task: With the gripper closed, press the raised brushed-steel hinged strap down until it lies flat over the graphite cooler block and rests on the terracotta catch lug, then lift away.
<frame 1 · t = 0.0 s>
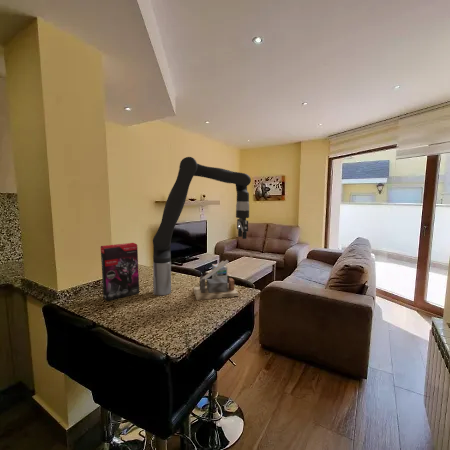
hand: (242, 237, 144), 29 cm above the counter, fingers open, 8 cm apart
light bulb box: (219, 282, 155), on the counter
strap: (214, 270, 135), point 13 cm above the counter, hinge at 35.0°
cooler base: (215, 293, 136), on the counter
graphics card box: (121, 296, 131), on the counter
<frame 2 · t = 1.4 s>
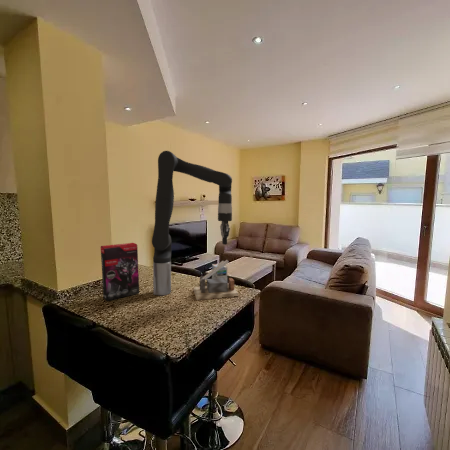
hand: (224, 244, 135), 27 cm above the counter, fingers closed
nothing on the counter moved.
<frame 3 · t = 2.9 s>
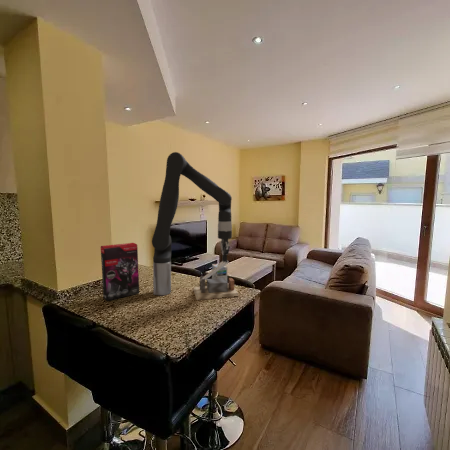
hand: (224, 261, 136), 18 cm above the counter, fingers closed
strap: (214, 270, 135), point 13 cm above the counter, hinge at 34.4°, touching gripper
everything else where it was.
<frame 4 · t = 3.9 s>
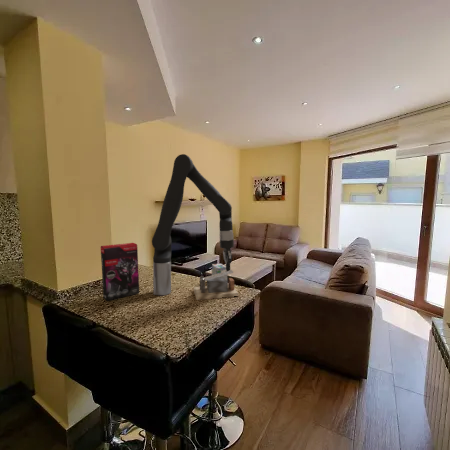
hand: (228, 270, 137), 13 cm above the counter, fingers closed
strap: (216, 275, 135), point 10 cm above the counter, hinge at 13.1°, touching gripper
everything else where it was.
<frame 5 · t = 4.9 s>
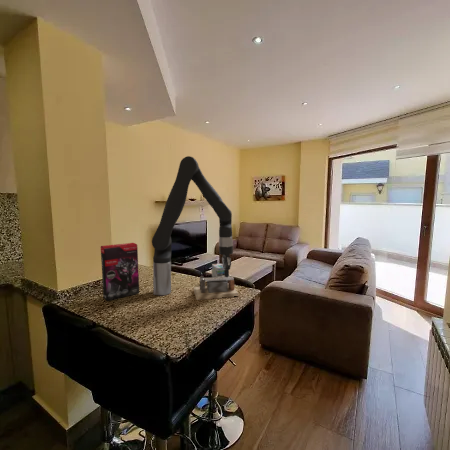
hand: (226, 276, 137), 9 cm above the counter, fingers closed
strap: (217, 278, 136), point 8 cm above the counter, hinge at -0.2°, touching gripper
everything else where it was.
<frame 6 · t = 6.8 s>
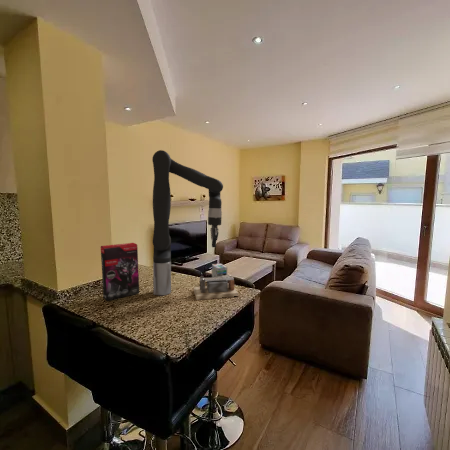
hand: (213, 247, 141), 24 cm above the counter, fingers closed
strap: (217, 278, 136), point 8 cm above the counter, hinge at -0.2°
everything else where it was.
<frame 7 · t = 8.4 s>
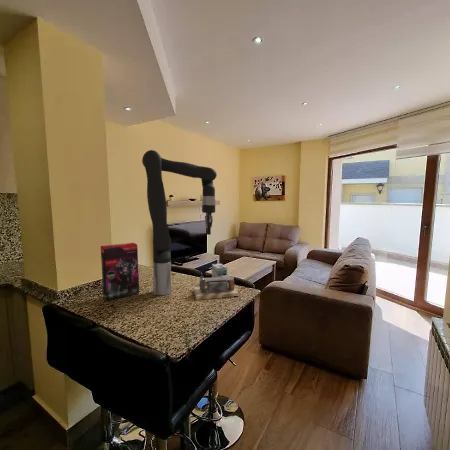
hand: (208, 234, 144), 31 cm above the counter, fingers closed
nothing on the counter moved.
at the end: strap at +0° (first picture: +35°); the gripper is holding nothing; light bulb box moved 0.3 cm from its start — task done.
